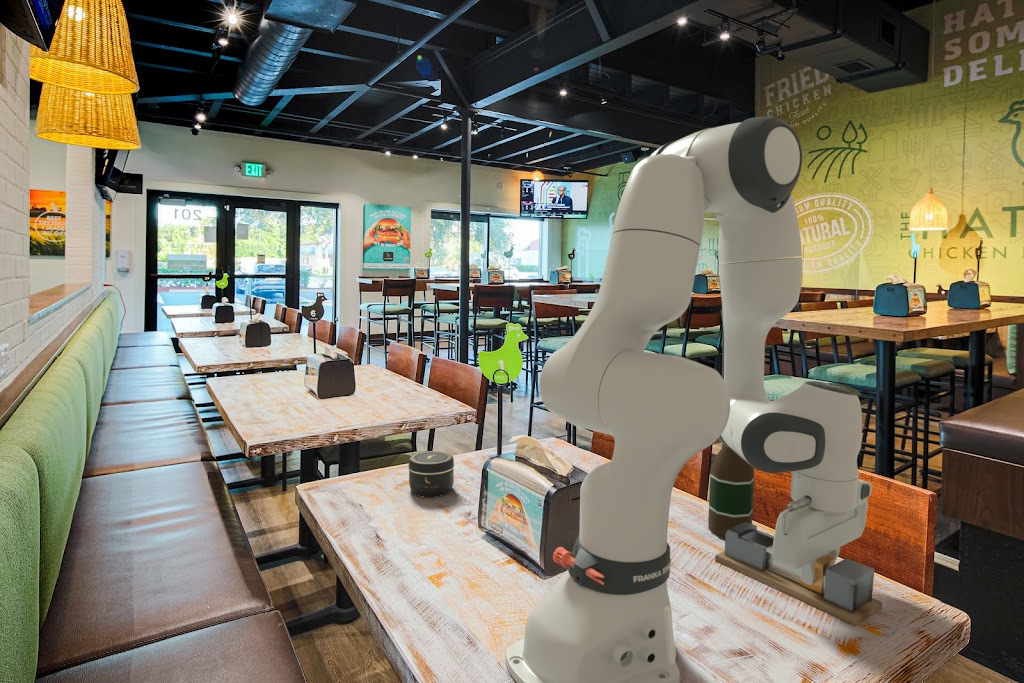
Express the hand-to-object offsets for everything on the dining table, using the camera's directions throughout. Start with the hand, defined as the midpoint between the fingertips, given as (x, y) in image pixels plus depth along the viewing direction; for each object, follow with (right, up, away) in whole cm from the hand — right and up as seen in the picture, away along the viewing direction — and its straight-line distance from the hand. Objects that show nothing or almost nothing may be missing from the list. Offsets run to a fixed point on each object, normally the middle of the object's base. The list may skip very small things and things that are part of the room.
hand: (817, 577), depth 92 cm
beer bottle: (-5, 0, +22) cm, 23 cm away
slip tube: (-1, -1, +1) cm, 2 cm away
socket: (+3, -3, -4) cm, 5 cm away
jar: (-64, +3, +43) cm, 77 cm away
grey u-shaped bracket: (-6, -1, +9) cm, 11 cm away
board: (-2, -2, +3) cm, 5 cm away
